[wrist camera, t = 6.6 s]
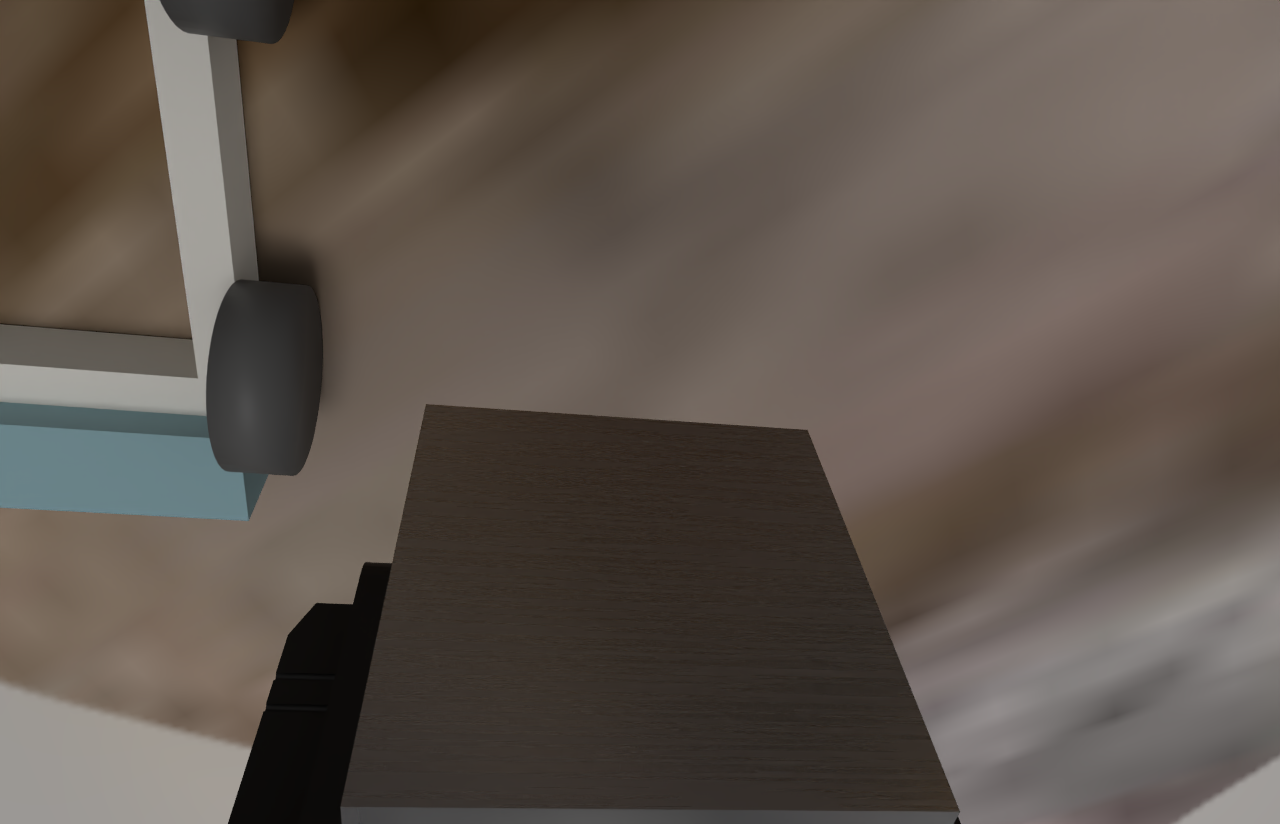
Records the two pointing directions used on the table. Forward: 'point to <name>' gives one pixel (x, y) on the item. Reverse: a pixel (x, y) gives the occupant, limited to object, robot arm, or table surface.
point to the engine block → (631, 637)
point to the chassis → (170, 367)
